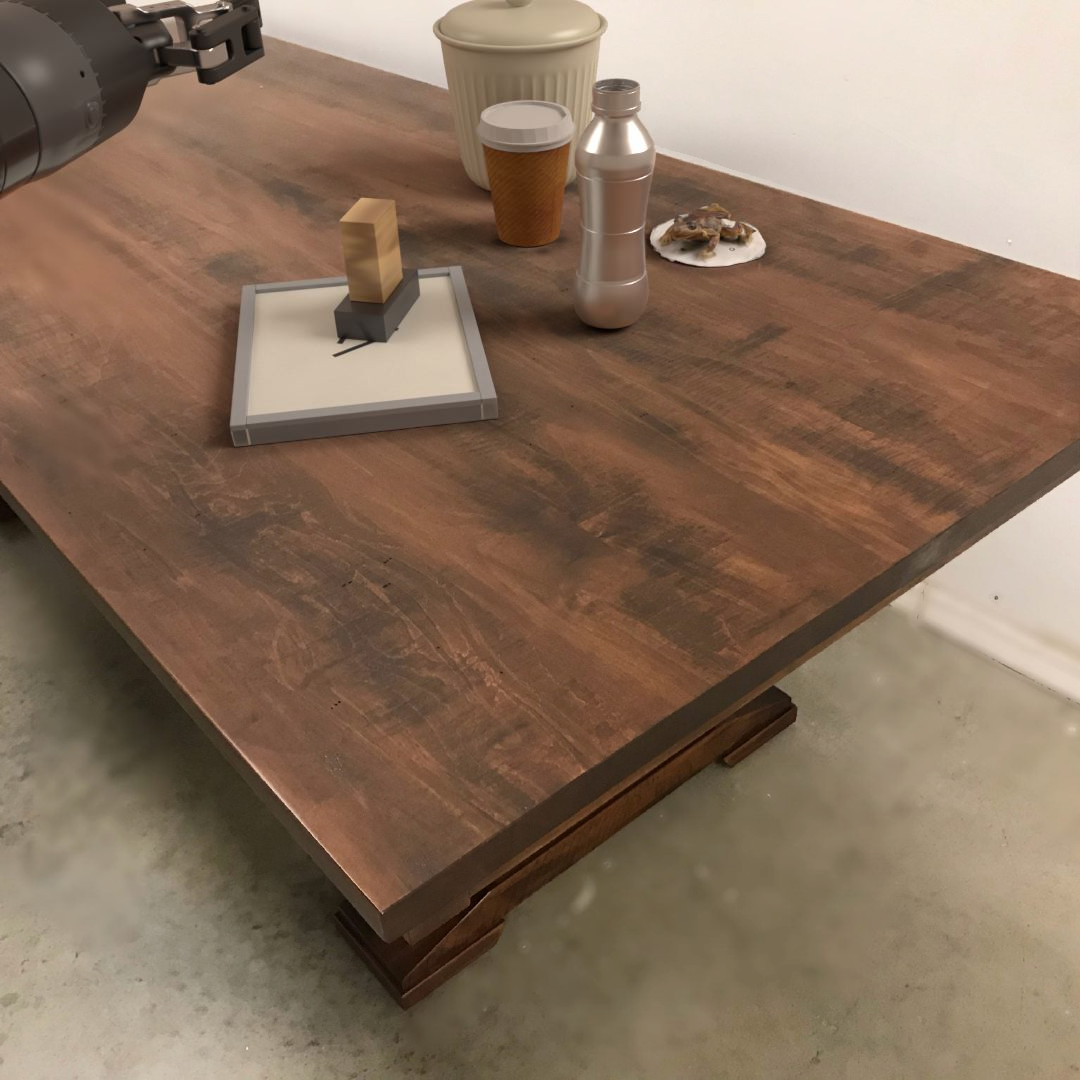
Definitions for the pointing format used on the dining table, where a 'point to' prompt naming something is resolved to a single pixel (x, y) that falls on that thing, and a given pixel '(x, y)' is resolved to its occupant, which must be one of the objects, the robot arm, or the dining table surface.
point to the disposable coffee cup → (527, 167)
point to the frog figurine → (707, 239)
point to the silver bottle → (613, 207)
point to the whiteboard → (355, 364)
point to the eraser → (373, 273)
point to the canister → (518, 64)
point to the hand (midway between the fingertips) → (185, 6)
